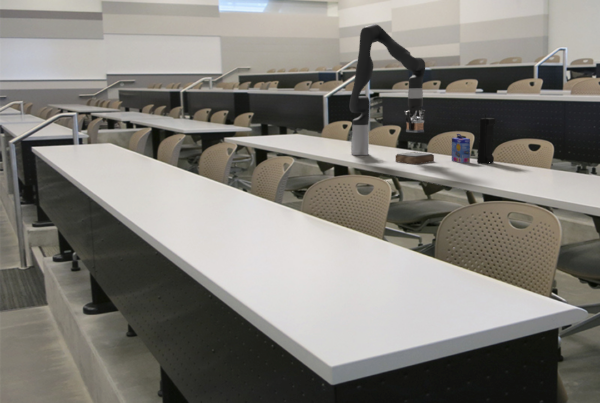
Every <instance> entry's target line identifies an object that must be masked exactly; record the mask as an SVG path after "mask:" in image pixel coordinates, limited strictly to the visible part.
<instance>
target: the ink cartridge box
mask: <svg viewBox="0 0 600 403" xmlns="http://www.w3.org/2000/svg"><path fill="white" fill-rule="evenodd" d="M456 136H457V137H452V138H451V162H456V163H460V164H464V163H465V164H467V163H470V162H471V140H470V138H467V137H463V135H462V134H459V133H456Z"/></svg>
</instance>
